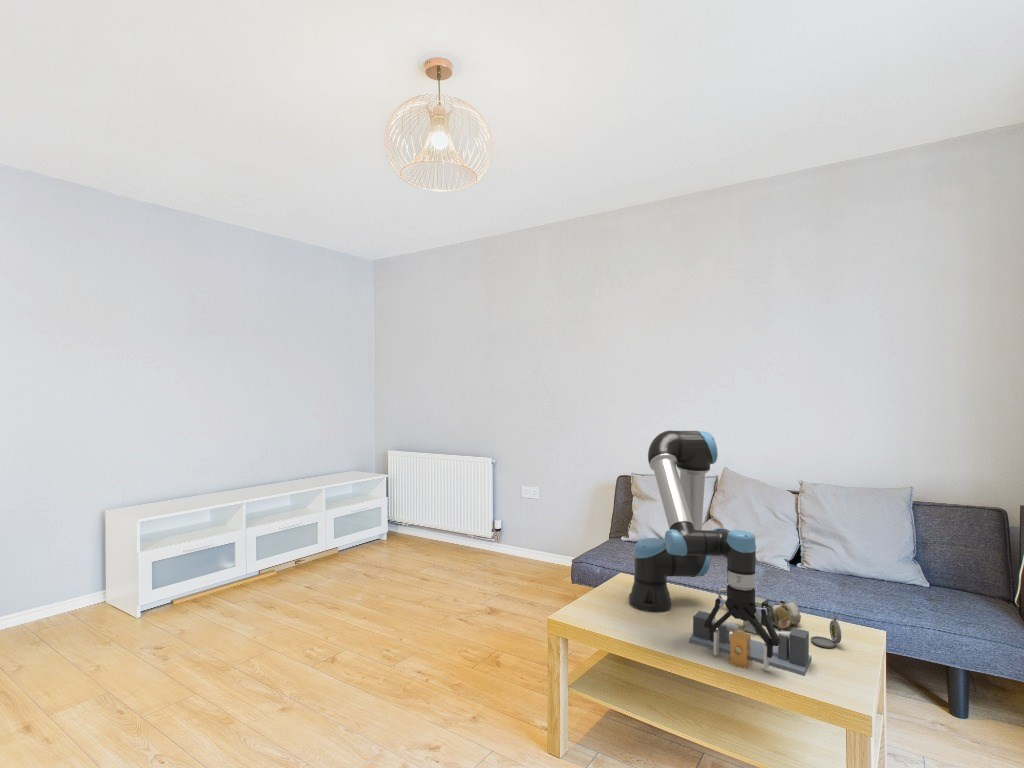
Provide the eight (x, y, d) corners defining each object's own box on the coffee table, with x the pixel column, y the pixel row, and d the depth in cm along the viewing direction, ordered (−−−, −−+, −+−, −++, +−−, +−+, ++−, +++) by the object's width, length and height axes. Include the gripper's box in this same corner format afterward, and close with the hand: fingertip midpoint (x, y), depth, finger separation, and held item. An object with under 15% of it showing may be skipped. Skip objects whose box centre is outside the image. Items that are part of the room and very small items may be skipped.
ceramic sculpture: (810, 601, 180) (780, 611, 173) (811, 627, 180) (781, 638, 173) (781, 591, 189) (752, 600, 182) (782, 616, 189) (753, 626, 182)
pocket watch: (806, 641, 170) (806, 609, 170) (824, 637, 173) (824, 605, 173) (830, 652, 162) (830, 619, 162) (849, 648, 165) (849, 615, 166)
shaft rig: (688, 641, 167) (689, 612, 168) (701, 629, 177) (701, 601, 177) (804, 675, 148) (804, 642, 148) (811, 659, 158) (811, 628, 158)
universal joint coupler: (745, 669, 151) (746, 640, 151) (729, 664, 153) (729, 636, 154) (750, 661, 155) (751, 633, 156) (735, 657, 158) (735, 629, 158)
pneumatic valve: (767, 639, 170) (768, 601, 171) (731, 627, 179) (731, 591, 179) (774, 634, 174) (774, 597, 175) (737, 623, 182) (738, 587, 183)
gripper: (693, 579, 160) (692, 652, 159) (786, 600, 145) (785, 680, 144) (701, 573, 166) (700, 643, 165) (791, 592, 151) (791, 669, 150)
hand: (740, 660), depth 154 cm, fingers open, 13 cm apart
